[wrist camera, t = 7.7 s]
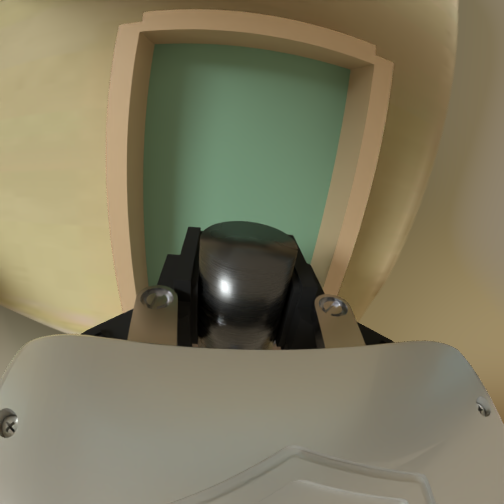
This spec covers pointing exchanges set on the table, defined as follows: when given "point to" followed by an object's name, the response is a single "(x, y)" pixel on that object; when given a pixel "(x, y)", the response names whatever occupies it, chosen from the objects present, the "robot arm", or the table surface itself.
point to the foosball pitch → (239, 136)
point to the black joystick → (243, 284)
